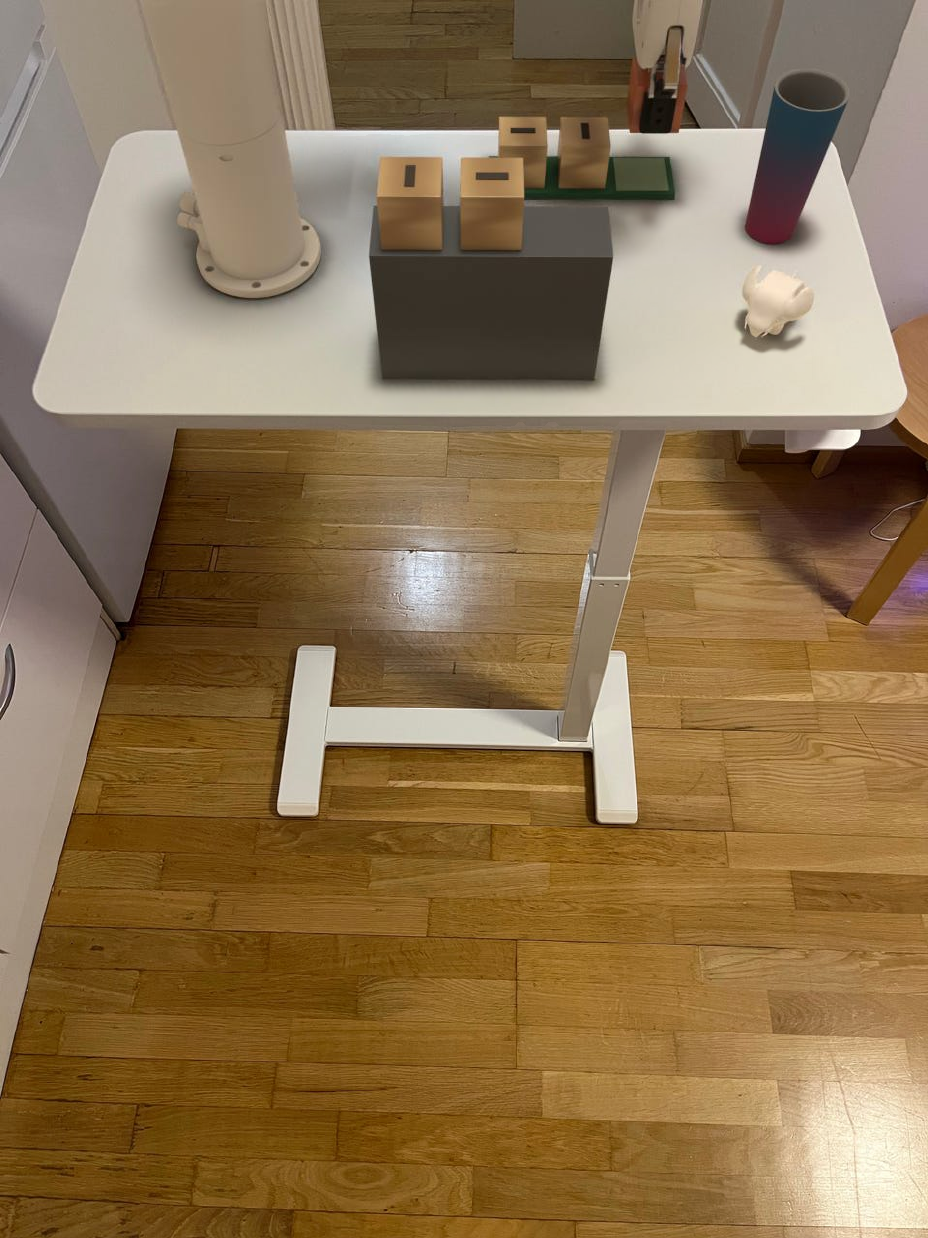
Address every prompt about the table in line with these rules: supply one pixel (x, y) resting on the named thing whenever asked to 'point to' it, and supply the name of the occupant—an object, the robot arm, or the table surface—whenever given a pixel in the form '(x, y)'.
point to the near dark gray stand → (484, 276)
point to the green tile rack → (581, 162)
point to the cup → (793, 150)
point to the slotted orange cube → (640, 85)
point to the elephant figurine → (774, 301)
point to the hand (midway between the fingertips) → (652, 112)
